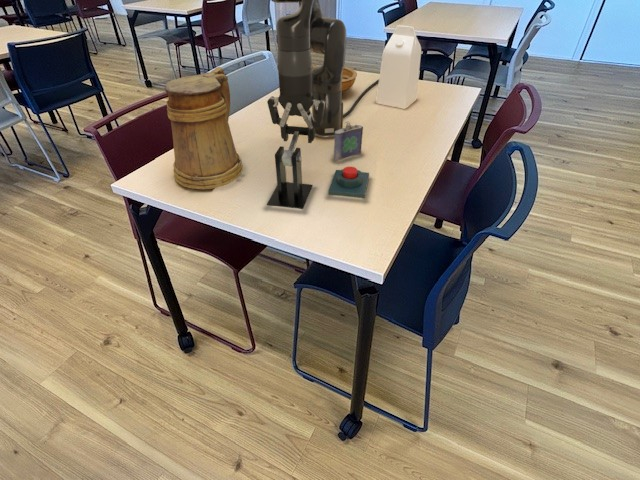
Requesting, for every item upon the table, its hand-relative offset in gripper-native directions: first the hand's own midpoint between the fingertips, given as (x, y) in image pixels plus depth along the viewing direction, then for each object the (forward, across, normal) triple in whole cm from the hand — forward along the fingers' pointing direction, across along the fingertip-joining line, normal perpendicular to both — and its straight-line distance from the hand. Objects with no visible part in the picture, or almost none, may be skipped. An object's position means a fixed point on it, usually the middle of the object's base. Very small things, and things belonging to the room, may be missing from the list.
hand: (298, 140), depth 95 cm
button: (+7, -14, +2) cm, 16 cm away
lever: (0, 0, +5) cm, 5 cm away
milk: (+11, -23, -65) cm, 70 cm away
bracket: (+11, 0, +10) cm, 15 cm away
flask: (+11, -11, -15) cm, 21 cm away
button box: (+11, -14, +2) cm, 18 cm away
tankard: (+11, +25, 0) cm, 27 cm away
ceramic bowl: (+11, +6, -69) cm, 70 cm away
